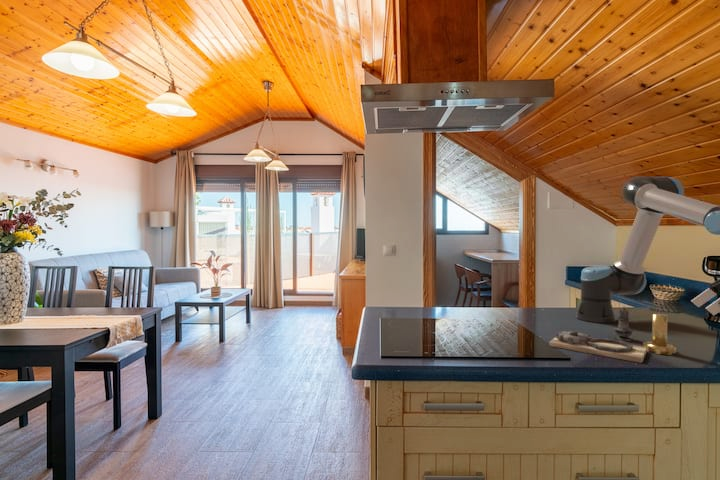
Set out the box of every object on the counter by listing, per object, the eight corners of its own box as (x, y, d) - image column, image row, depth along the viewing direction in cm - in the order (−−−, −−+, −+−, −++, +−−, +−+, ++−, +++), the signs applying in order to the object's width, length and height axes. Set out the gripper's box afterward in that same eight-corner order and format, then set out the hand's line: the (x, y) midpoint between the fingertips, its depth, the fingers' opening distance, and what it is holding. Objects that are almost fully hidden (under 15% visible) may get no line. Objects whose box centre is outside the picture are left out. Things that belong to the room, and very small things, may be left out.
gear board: (560, 337, 145) (560, 325, 145) (646, 351, 128) (646, 338, 128) (549, 346, 135) (549, 333, 135) (641, 362, 118) (642, 348, 118)
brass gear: (644, 345, 135) (645, 310, 135) (676, 350, 130) (677, 314, 129) (641, 351, 129) (642, 315, 128) (675, 356, 123) (676, 319, 123)
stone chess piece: (636, 341, 140) (636, 308, 139) (618, 340, 141) (618, 307, 141) (628, 337, 146) (629, 305, 145) (611, 336, 147) (611, 304, 146)
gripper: (803, 275, 105) (728, 325, 112) (758, 267, 127) (699, 309, 134) (776, 255, 107) (705, 305, 114) (737, 251, 129) (679, 293, 136)
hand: (701, 307), depth 124 cm, fingers open, 13 cm apart
